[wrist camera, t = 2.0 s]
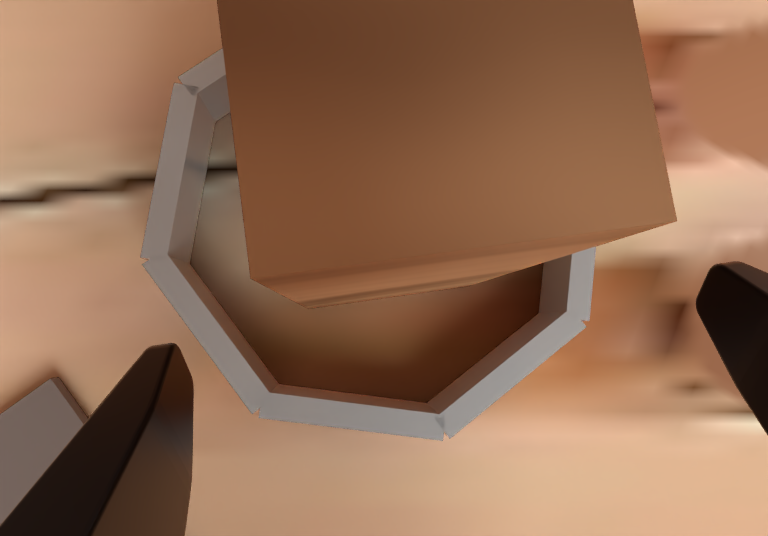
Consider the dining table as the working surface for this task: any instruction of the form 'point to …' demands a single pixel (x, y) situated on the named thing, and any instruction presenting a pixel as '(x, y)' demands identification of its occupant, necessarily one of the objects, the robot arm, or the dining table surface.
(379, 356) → the dining table surface
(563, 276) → the grey octagonal ring
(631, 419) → the dining table surface
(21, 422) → the mat
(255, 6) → the walnut block
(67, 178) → the dining table surface
